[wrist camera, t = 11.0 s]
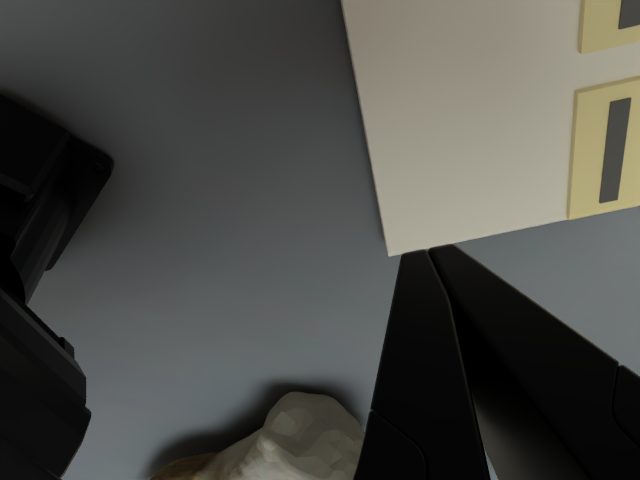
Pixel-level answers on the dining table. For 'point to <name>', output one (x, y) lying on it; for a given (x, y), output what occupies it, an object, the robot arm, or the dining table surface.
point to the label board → (496, 113)
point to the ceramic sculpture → (284, 446)
